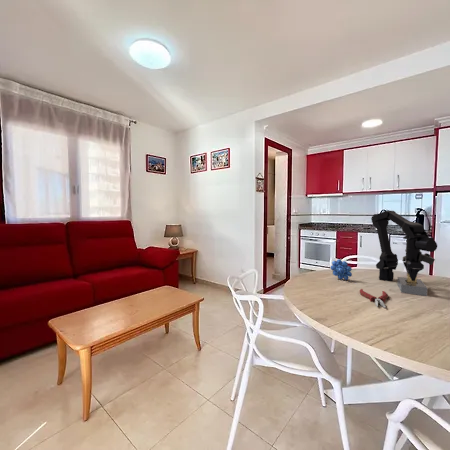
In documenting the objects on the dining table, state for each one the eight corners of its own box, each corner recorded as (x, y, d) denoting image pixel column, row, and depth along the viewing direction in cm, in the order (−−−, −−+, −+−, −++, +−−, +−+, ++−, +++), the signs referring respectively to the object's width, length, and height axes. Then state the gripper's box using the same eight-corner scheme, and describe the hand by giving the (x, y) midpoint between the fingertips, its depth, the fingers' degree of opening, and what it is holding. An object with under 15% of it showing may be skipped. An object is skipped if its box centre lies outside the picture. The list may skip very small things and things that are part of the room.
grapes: (328, 279, 142) (329, 259, 141) (331, 277, 148) (331, 257, 147) (350, 283, 136) (351, 261, 135) (352, 280, 141) (353, 259, 140)
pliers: (365, 308, 103) (366, 302, 102) (358, 292, 121) (359, 287, 121) (397, 312, 98) (398, 306, 98) (385, 295, 117) (385, 290, 117)
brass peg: (407, 289, 124) (407, 274, 123) (406, 288, 127) (406, 273, 126) (416, 291, 122) (416, 275, 121) (414, 289, 125) (415, 273, 125)
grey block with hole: (401, 292, 120) (401, 284, 120) (397, 283, 134) (397, 276, 134) (426, 296, 115) (427, 287, 115) (420, 286, 129) (420, 279, 129)
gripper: (438, 252, 111) (436, 286, 112) (429, 247, 127) (427, 276, 128) (408, 250, 116) (407, 282, 117) (402, 245, 133) (401, 273, 134)
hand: (411, 278), depth 124 cm, fingers open, 9 cm apart
